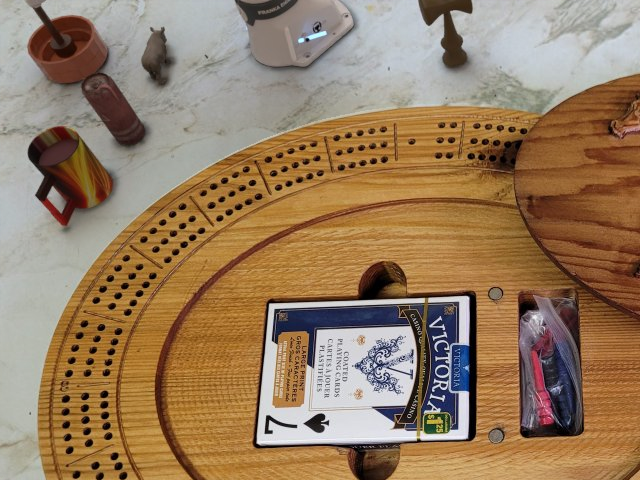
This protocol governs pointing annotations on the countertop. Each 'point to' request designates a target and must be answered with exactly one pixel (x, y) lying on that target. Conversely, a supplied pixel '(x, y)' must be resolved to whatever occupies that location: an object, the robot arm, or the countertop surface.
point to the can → (113, 108)
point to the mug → (68, 171)
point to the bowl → (80, 63)
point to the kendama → (447, 27)
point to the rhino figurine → (155, 54)
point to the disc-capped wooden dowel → (57, 36)
